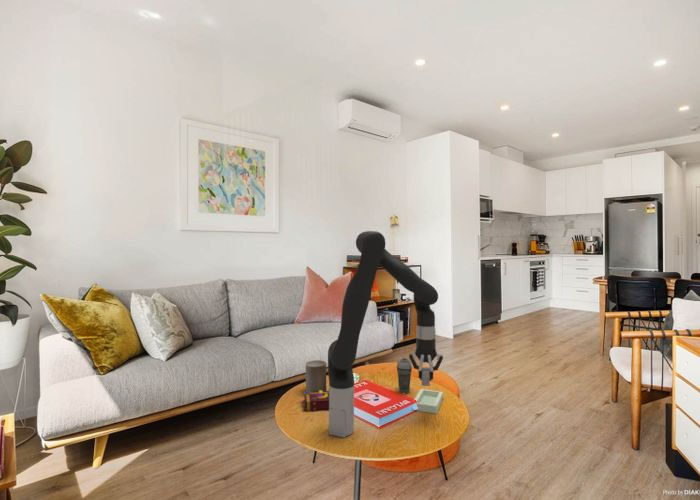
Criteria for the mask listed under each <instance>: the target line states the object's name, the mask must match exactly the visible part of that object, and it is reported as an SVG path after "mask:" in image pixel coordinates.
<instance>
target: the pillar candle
mask: <svg viewBox="0 0 700 500" xmlns="http://www.w3.org/2000/svg"><path fill="white" fill-rule="evenodd" d="M319 390H322V391H327V362H326V361H325V360H316V359H315V360H309V361H307V362H305V392H308V391H312V392H317V391H319Z"/></svg>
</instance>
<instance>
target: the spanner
mask: <svg viewBox="0 0 700 500" xmlns="http://www.w3.org/2000/svg"><path fill="white" fill-rule="evenodd" d="M430 382H431V381H430V367H428V366H427V367H425V366H422V380H421V386H425V387H430V385H431V384H430Z"/></svg>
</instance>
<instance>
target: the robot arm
mask: <svg viewBox="0 0 700 500" xmlns="http://www.w3.org/2000/svg"><path fill="white" fill-rule="evenodd" d="M355 246H356V249H357V250H358V251H359V253H360V258H359V263H358V265H357V268H356V271H355V272H354V273H353V276H352V277H351V279H350V281H349V283H348V284H347V287H346V289H345V294H344V297H343V301H342V306H341V321H340V329H339V334H338V337H337V339H336V340H334V341H333V342H331V344H330V345H329V347H328V350H327V351H328V352H327V373H328V391H329V411H328V435H329V436H334V437H338V438H345V437H347V436H350V435H352V434H354V431H355V376H354V371H353V365H354V363H355V361H356V359H357V352H358V344H359V339H360V334H361V330H362V327H363V324H364V321H365V317H366V314H367V309H368V308H369V302H370V299H371V295H372V290H373V287H374V283H375V279H376V275H377V271H378V268H379V266H380V267H381V268H382V269H384V270H385V271H386V272H387V273H388V274H389V275H390V276H391V277H392V278H393V279H394V280H395V281H396V282H398V283H399V284H400V285H401V286H402V287H403V288H405V290H407V291H409V292H411V293H413V302H414V308H415V311H416V329H415V330H416V331H415V332H416V333H415V340H416V341H415V345H416V346H415V352H413V353H412V352H410V353H409V355H408V359H409V361H410V362H411V365H412V368H413V369H414V370H418V371H417V372H418V379H419V380H420V381H422V367H423V364H425V363H428V366H429V368H430V382H432V380H434V372H436V371H438V370H439V368H440V366H441V363H442V362H443V359H444V357H443V354H439V353H437V350H436V348H437V347H436V345H437V343H436V341H437V340H436V339H437V338H436V337H437V334H436V315H435V311H434V310H432V309H431V306H432V305H435V304H436V303H437V302H438V300H439V293H438V290H437V289H435V287H434V286H433V285H431V283H428V282H427V281H426V280H424V279H423V278H421V277H420V276H419V275H418V274H417V273H416V272H415V271H414V270H413V269H412V268H411V267H409V266H408V265H407V264H406V263H404V262H403V261H401V260H399V258H397V257H395V256H394V255H393V254H391V253H390V252H389V251H388V250H387V249H386V239H385V236H384V234H382V233H381V232H379V231H377V230H374V231H373V230H367V231H363V232H361V233H359V234H358V235H357V237H356V238H355ZM416 357H417V359H418V360H419V363H418V364H417V362H416ZM435 358H436V360H437V361H436V363H435V365H434V363H433V361H434V360H435Z"/></svg>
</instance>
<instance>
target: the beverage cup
mask: <svg viewBox="0 0 700 500" xmlns="http://www.w3.org/2000/svg"><path fill="white" fill-rule="evenodd" d="M401 357H402V358H401V359H399V360H398V361H397V364H396V371H397V381H398V392H399V393H400V392H401V393H405V394H404V395H407V394H406V393H408V394H409V393H410V390H411V389H410V388H411V387H410V386H411V377H412V370H413V365H412V362H411V360H410V359H407V358H404V351H403V349H402V348H401ZM401 393H400V394H401Z"/></svg>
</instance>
